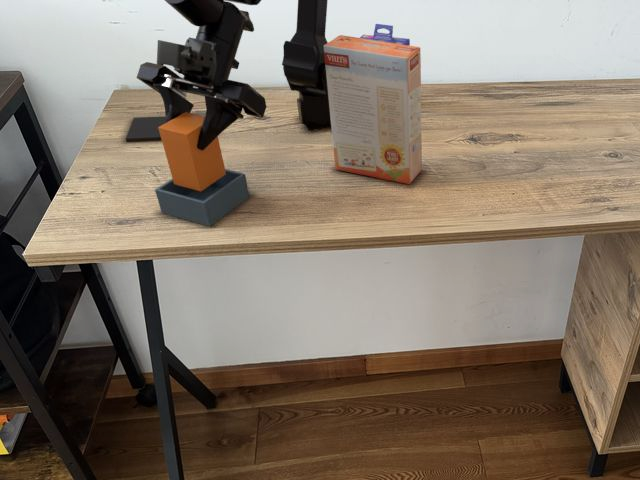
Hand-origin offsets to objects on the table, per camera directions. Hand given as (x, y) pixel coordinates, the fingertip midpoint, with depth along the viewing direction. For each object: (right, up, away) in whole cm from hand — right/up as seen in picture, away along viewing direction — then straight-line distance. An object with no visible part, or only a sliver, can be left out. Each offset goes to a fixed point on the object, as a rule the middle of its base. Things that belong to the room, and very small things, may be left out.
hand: (184, 145), depth 99 cm
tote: (0, -7, +8) cm, 11 cm away
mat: (-15, +11, +27) cm, 33 cm away
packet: (0, -4, +5) cm, 6 cm away
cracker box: (+26, +1, +19) cm, 32 cm away
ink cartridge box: (+24, +21, +40) cm, 51 cm away
